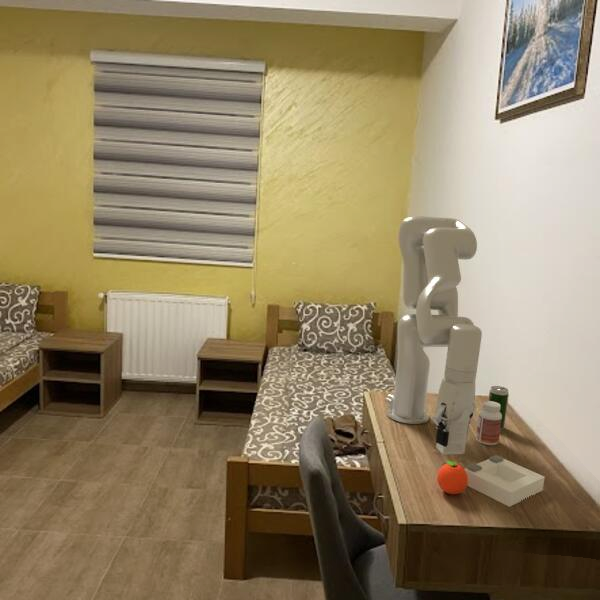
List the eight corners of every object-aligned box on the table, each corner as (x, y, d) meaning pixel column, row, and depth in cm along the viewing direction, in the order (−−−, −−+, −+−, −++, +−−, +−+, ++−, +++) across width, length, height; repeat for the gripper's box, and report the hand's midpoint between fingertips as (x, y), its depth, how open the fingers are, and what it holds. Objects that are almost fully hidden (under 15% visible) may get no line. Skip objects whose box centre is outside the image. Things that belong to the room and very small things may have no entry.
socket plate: (461, 482, 150) (463, 466, 150) (495, 468, 159) (497, 453, 158) (509, 506, 141) (511, 490, 140) (542, 490, 149) (545, 474, 149)
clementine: (427, 484, 148) (430, 456, 147) (452, 481, 151) (455, 453, 149) (446, 501, 141) (450, 472, 140) (472, 498, 143) (476, 469, 142)
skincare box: (457, 446, 162) (463, 403, 159) (464, 454, 158) (471, 409, 155) (435, 447, 160) (440, 403, 158) (442, 455, 156) (448, 410, 154)
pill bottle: (503, 443, 175) (508, 406, 173) (488, 447, 172) (493, 409, 170) (485, 435, 180) (490, 398, 178) (470, 438, 177) (475, 401, 175)
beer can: (490, 431, 183) (496, 392, 181) (481, 423, 189) (486, 385, 186) (507, 430, 185) (512, 391, 182) (497, 423, 190) (503, 385, 187)
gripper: (469, 364, 163) (460, 428, 167) (425, 375, 152) (417, 443, 156) (494, 373, 157) (484, 439, 161) (450, 385, 146) (441, 455, 150)
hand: (451, 440), depth 158 cm, fingers closed on skincare box, 7 cm apart
